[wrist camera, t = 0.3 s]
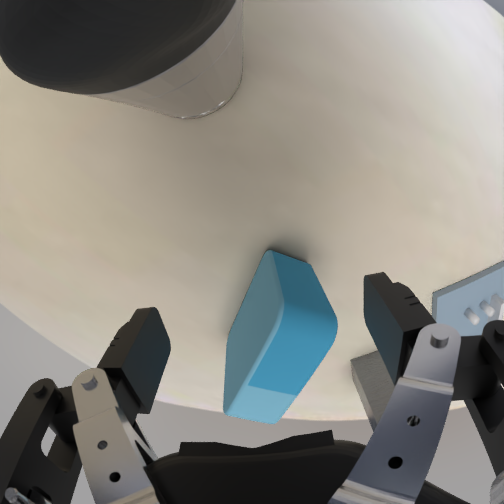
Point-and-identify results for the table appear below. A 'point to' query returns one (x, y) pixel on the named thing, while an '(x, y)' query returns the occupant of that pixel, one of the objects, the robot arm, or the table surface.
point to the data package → (276, 339)
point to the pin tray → (471, 301)
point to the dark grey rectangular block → (372, 385)
